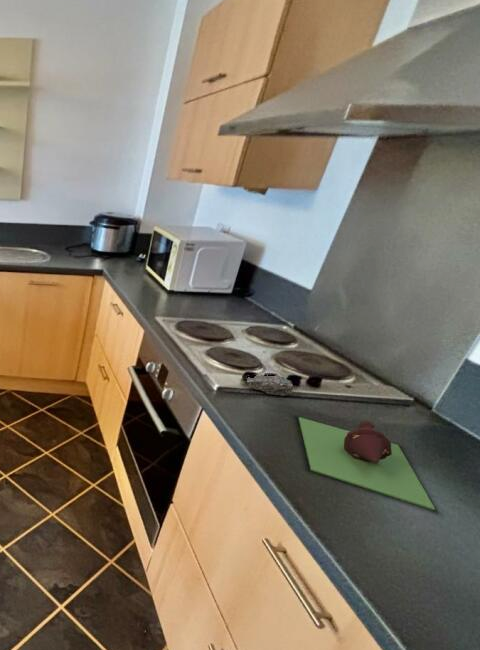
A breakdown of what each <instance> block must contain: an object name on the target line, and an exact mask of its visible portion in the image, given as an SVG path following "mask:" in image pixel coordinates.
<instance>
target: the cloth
mask: <svg viewBox="0 0 480 650" xmlns="http://www.w3.org/2000/svg"><path fill="white" fill-rule="evenodd" d="M298 422H299V426H300V431H301V435H302V439H303V443H304V447H305V451H306V457H307V460H308V464H309V468H310V471H311V472H314V473H316V474H321V475H323V476H326V477H330V478H332V479H335V480H339V481H342V482H345V483H348V484H351V485H354V486H357V487H360V488H363V489H366V490H369V491H373V492H375V493H378V494H381V495H385V496H388V497H390V498H394V499H397V500H399V501H403V502H407V503H409V504H412V505H415V506H419V507H422V508H424V509H427V510H430V511H435V510H436V508H435V506H434V504H433V503H432V501H431V500H430V497H429V496H428V494H427V492H426V490H425V488H424V486H423V485H422V484H421V482H420V480H419V478H418V477H417V475H416V473H415V471H414V470H413V468H412V466H411V464H410V462H409V461H408V459H407V457H406V456H405V454H404V452H403V450H402V449H401V447H400V446H399V444H396V443H392V442H391V451H392V454H391V455H390V456H387V457H386V458H385V459H381V460H379V462H378V463H377V464H375V463H373V462H366V461H362V460H359V459H355V458H353V457H352V456H351V455H350V454H349V453H348V452H346V451H345V449H344V440H345V437H346V436H347V433H348V432H350V431H351V430H346V429H343V428H339V427H336V426H332V425H328V424H326V423H321V422H318V421H314V420H311V419H307V418H304V417H300V416H299V417H298Z"/></svg>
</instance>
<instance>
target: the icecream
mask: <svg viewBox="0 0 480 650" xmlns="http://www.w3.org/2000/svg"><path fill="white" fill-rule="evenodd" d="M374 428H375V425H374V424H373V422H371V421H369V420H363V421H361V422H359V423H358V427H356V428H355V429H353V430H349V431H350V432H348V433H347V436H346V437H345V440H344V449H345V451H346V452H348V453H349V454H350V455H351V456H352V457H353V458H355V459H359V460H362V461H366V462H373V463H375V464H377V463H378V462H379V460H381V459H385V458H386V457H387V456H390V455H391V454H392V451H391V443H392V442H391V440H390V439H389V438H387V437H386V436H385V435H384V433H381V432H380V431H378V430H375V429H374Z"/></svg>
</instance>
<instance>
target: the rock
mask: <svg viewBox="0 0 480 650" xmlns="http://www.w3.org/2000/svg"><path fill="white" fill-rule="evenodd" d="M257 374H258V375H257V376H255V377H254V378H250V377H248V378H247V377H246V381H245V382H246V384H247V386H248V387H249V388H250V389H251V388H252V389H254V390H257V391H262V392H264V393H266V394H268V395H273V396H281V397H285V396H286V397H288V396H291V394H292V393H293V389H294V385H293V383H292V381H291V380H289V379H287V378H285V376H281V375H277V374H276V375H275V374H274V375H275V376H268V375H269V374H266V375H267V376H263V374H264V373H257Z"/></svg>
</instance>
